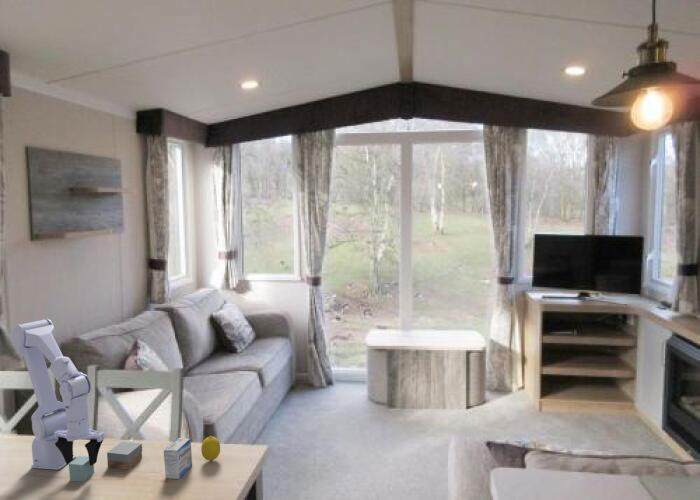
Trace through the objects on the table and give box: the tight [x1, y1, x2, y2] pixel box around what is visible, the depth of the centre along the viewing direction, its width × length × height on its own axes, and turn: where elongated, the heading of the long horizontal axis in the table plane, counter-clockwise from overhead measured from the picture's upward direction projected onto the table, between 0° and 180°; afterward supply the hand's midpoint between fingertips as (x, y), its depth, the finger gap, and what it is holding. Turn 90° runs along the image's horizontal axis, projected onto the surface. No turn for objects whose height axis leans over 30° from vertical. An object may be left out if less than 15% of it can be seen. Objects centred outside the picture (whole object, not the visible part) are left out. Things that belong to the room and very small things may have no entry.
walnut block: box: [107, 451, 143, 470], centre depth 160 cm, size 7×7×2 cm
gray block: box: [106, 441, 143, 463], centre depth 160 cm, size 7×7×2 cm
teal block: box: [68, 455, 95, 482], centre depth 153 cm, size 4×4×5 cm
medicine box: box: [163, 437, 193, 480], centre depth 154 cm, size 8×4×9 cm, turn 168°
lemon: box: [200, 435, 221, 462], centre depth 160 cm, size 6×6×8 cm
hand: (81, 462), depth 152 cm, fingers open, 7 cm apart
